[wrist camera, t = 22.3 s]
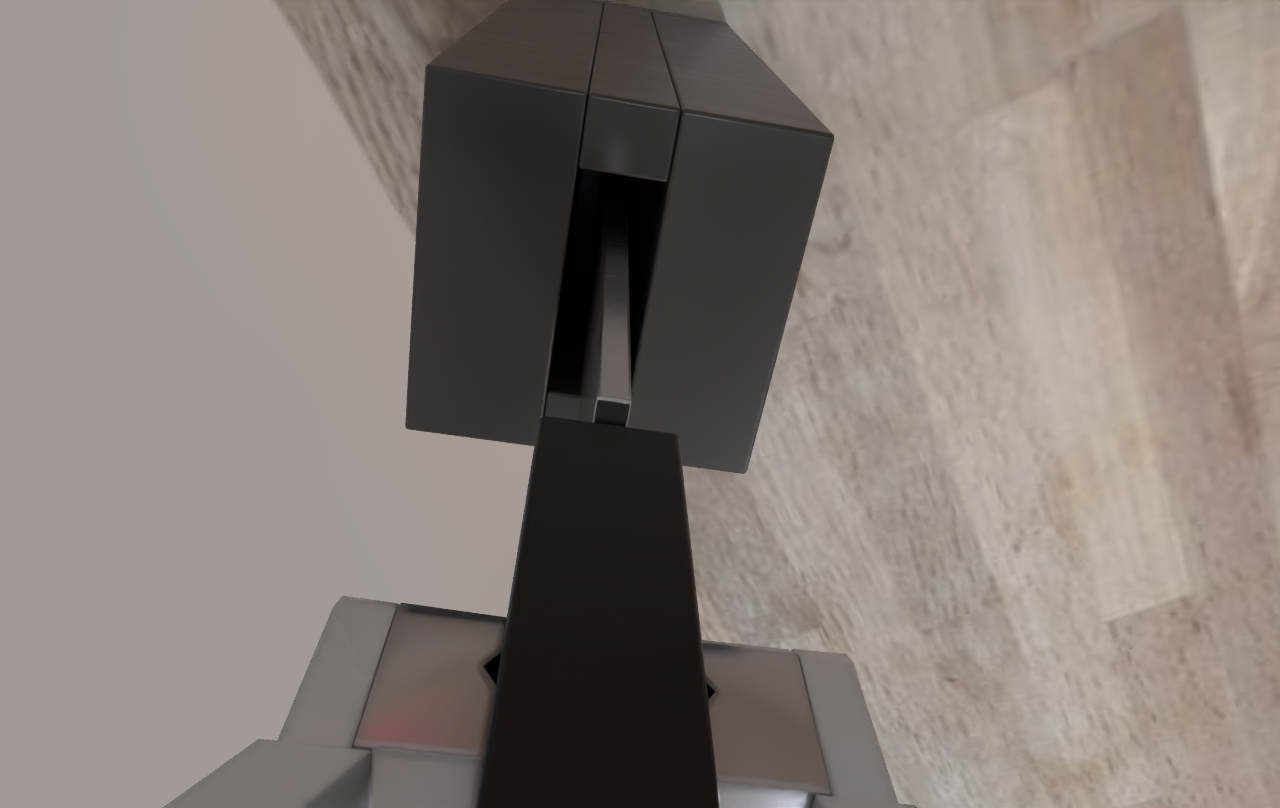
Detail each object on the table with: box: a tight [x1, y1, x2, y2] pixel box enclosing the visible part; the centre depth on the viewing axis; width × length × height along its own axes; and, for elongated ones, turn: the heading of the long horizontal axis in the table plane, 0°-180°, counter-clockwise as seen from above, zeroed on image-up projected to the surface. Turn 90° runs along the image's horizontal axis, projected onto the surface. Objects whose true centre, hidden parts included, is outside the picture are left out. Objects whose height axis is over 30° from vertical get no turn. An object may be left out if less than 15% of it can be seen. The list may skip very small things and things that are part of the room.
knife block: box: [405, 0, 834, 474], centre depth 25 cm, size 7×7×18 cm
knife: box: [476, 172, 720, 808], centre depth 16 cm, size 2×3×25 cm, turn 170°
